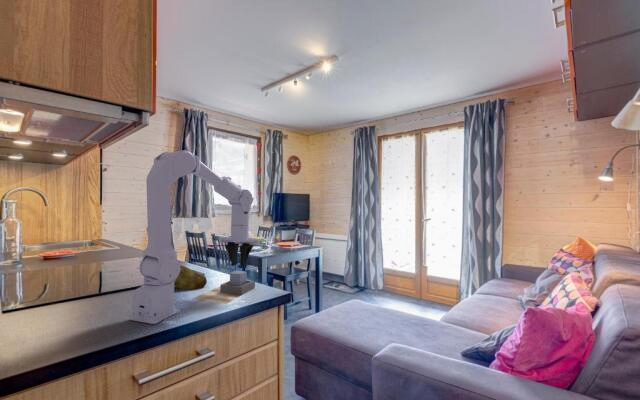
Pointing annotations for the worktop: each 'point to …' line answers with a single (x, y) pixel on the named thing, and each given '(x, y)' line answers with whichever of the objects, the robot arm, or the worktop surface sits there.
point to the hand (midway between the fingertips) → (238, 265)
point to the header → (237, 288)
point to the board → (217, 296)
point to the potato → (189, 279)
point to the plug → (238, 278)
